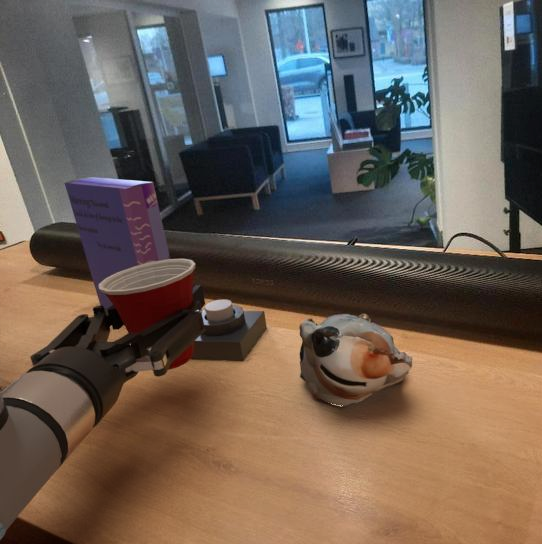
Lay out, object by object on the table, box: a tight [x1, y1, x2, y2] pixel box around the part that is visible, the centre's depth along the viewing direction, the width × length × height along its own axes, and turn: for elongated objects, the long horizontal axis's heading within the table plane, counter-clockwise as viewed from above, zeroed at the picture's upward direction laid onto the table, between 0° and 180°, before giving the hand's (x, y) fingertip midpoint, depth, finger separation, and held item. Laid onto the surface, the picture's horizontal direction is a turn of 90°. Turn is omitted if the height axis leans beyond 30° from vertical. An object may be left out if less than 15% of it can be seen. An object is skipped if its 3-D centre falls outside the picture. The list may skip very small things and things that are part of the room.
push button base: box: [190, 304, 268, 362], centre depth 76 cm, size 12×10×5 cm
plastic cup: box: [99, 258, 196, 371], centre depth 60 cm, size 11×11×12 cm
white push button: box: [204, 298, 234, 322], centre depth 75 cm, size 4×4×2 cm
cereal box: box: [64, 176, 171, 310], centre depth 86 cm, size 17×5×24 cm, turn 58°
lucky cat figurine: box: [298, 312, 413, 407], centre depth 61 cm, size 15×12×14 cm
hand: (169, 295), depth 64 cm, fingers closed on plastic cup, 8 cm apart
